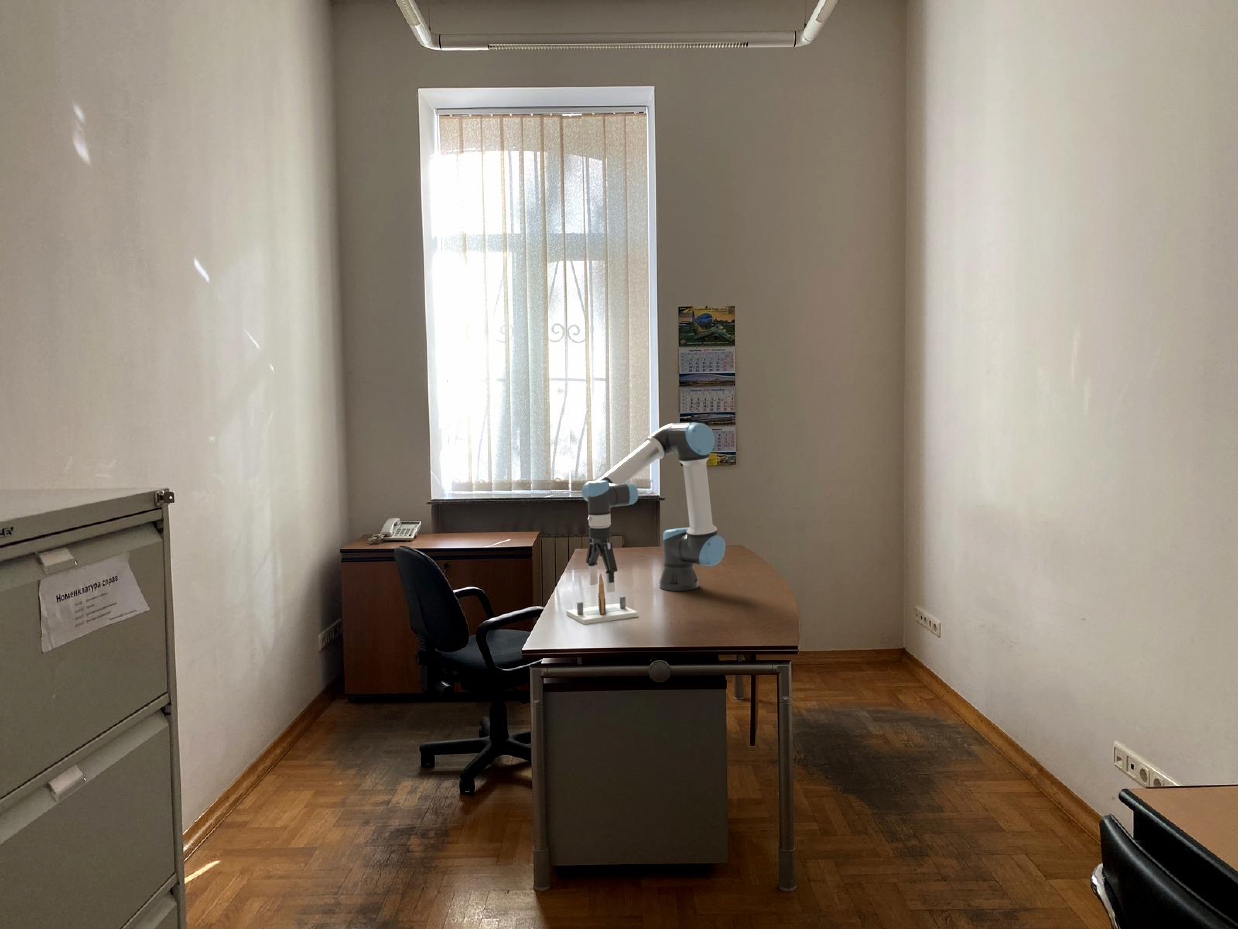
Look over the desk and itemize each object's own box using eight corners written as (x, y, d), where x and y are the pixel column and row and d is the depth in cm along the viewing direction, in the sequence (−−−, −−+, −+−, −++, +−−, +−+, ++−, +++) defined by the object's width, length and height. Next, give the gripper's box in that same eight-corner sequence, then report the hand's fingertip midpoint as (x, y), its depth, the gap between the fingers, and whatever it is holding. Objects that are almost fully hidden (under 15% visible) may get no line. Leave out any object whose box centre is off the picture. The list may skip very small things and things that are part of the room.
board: (618, 607, 304) (618, 592, 304) (638, 616, 291) (637, 600, 291) (566, 614, 296) (566, 599, 295) (583, 624, 282) (583, 607, 282)
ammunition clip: (605, 614, 288) (604, 579, 287) (600, 614, 288) (599, 579, 287) (603, 607, 299) (603, 573, 298) (598, 607, 299) (597, 573, 298)
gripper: (575, 523, 301) (577, 582, 302) (605, 532, 278) (607, 596, 280) (594, 521, 304) (596, 580, 306) (626, 529, 282) (628, 593, 283)
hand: (602, 588), depth 293 cm, fingers open, 13 cm apart
